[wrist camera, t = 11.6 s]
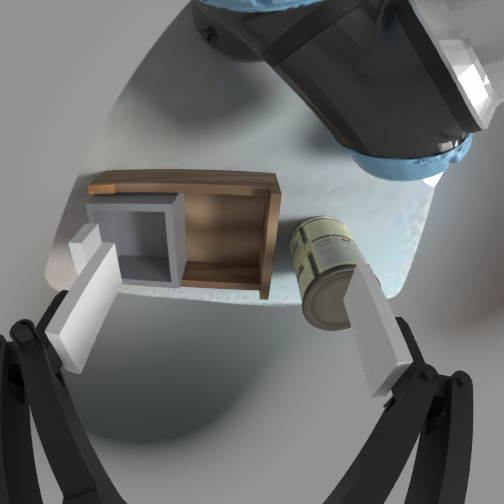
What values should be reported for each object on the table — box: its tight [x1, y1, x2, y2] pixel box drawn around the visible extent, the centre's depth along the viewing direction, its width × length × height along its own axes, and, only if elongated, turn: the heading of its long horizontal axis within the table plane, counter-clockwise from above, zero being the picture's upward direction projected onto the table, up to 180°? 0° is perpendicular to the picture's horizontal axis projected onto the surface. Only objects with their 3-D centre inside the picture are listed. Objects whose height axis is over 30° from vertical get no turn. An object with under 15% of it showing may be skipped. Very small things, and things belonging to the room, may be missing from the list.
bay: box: [88, 169, 281, 300], centre depth 41 cm, size 16×25×8 cm, turn 86°
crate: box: [68, 192, 187, 288], centre depth 37 cm, size 13×12×12 cm
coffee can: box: [289, 216, 381, 331], centre depth 41 cm, size 10×10×14 cm
